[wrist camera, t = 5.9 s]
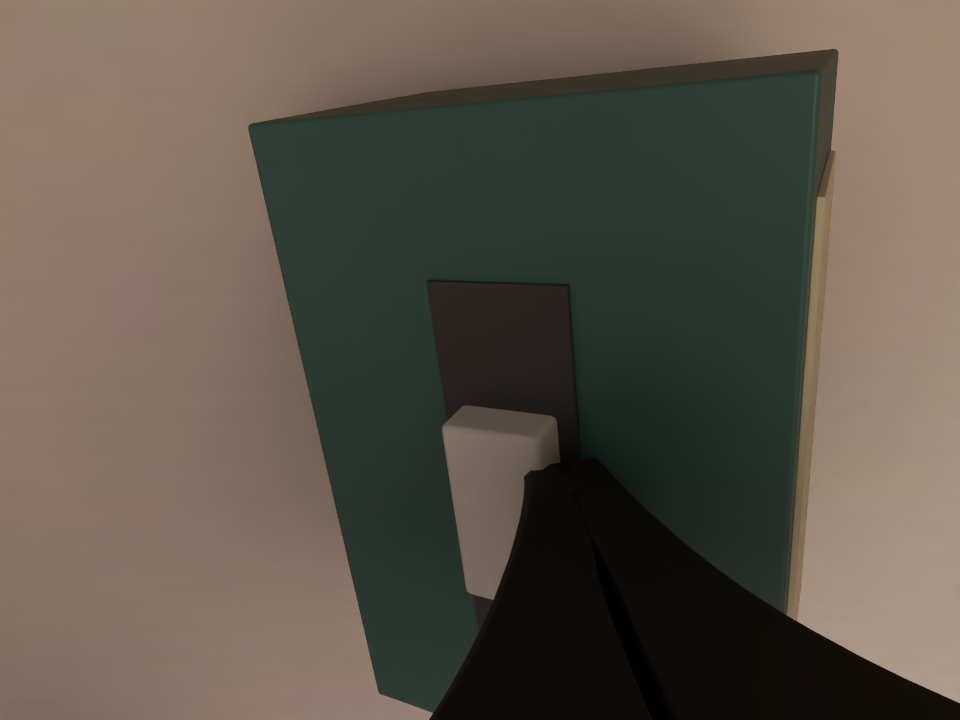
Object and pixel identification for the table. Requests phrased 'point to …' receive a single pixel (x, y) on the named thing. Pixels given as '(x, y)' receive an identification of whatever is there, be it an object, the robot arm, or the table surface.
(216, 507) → the table surface
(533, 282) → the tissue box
